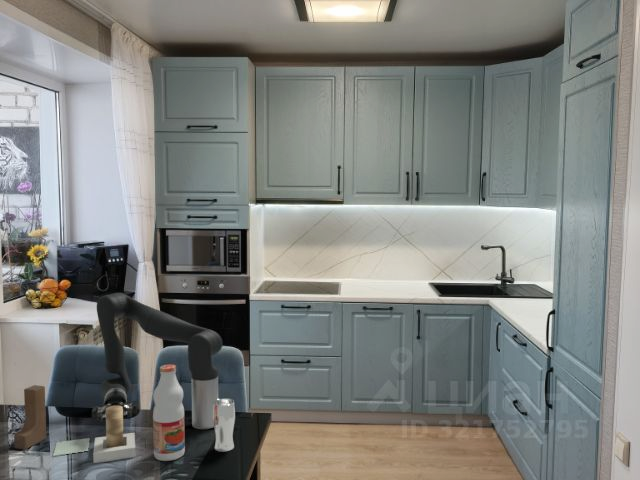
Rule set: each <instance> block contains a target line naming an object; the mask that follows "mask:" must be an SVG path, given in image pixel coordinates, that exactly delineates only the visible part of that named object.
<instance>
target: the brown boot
mask: <svg viewBox="0 0 640 480" xmlns="http://www.w3.org/2000/svg"><path fill="white" fill-rule="evenodd" d="M23 394H24V395H23V396H24V397H23V399H24V423H23V426H22V428H21V429H20V431H19V430H18V432H16V433H15V434H14V435H13V440H14V441H13V443H14V444H13V445H14V449H18V450H22V451H23V450H24V451H25V450H28V449H29V448H31V447H33V446H35V445H37V444H39V443H42V442H43V441H44V440H46V439H47V419H46V418H47V415H46V414H47V413H46V386H44V385H35V384H34V385H31V386H29V387H25V388H24V389H23Z"/></svg>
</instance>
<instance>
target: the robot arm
mask: <svg viewBox="0 0 640 480" xmlns="http://www.w3.org/2000/svg"><path fill="white" fill-rule="evenodd" d="M96 313H97V314H96V315H97V319H98V324H99V328H100V333H101V337H102V341H103V346H104V347H103V348H104V363H105V365H104V366H105V371H106V372H107V373H109V374H116V375H118V376H119V377H118V376H117V377H111V378H110V377H109V378H106V379H104V380H103V381H102V383H101V393H102V396H103V397H104V399H103V405H102V406H101V407H99V406H98V405H93V407H92V410H91V420H97V422H99V423H103V418H105V419H106V408H108V407H110V406H122V407H123V416H126V415H127V416H126V417H127V420H130V418H132V416H133V414H134V415H137V414H138V404H137V401H136V400H134V401H132V402H131V403H128V400H127V399H128V397H127V395H128V394H129V393H130V392H131V389H132V385H131V381H130V378H129V375H128V372H127V369H126V356H125V348H124V345H123V343H122V341H121V339H120V338H119V335H118V334H117V332H116V327H115V319H116V318H120V317H125V318H128V319H131V320H133V321H135V322H137V324H138V325H139V327H140V328H141V330H142V331H144V332H145V333H146V334H148V335H151V336H153V337H155V338H158V339H160V340H165V341H171V342H181V343H186V344H188V345H187V354H188V355H187V356H188V368H189V372H190V375H191V425H192V428H194V429H198V430H208V429H213V428H214V422H213V405H214V401H216V400H218V399H220V397H219V369H218V367H217V366H213V362H212V357H213V356H216V355H217V354H218V353H219V352H220V351H222V348H223V339H222V337H221V336H220V334H219V333H218V332H216V331H214V330H212V329H209V328H205V327H201V326H199V325H195V324H192V323H190V322H187V321H185V320H182V319H180V318H178V317H176V316H173V315H172V314H169V313H166V312H164V311H162V310H159V309H156V308H154V307H151V306H149V305H146V304H144V303H142V302H139V301H138V300H136V299H134V298H133V297H131V296H129V295H127V294H125V293H122V292H114V293H110V294H105V295H101V296H100V297H99V299H98V300H97V301H96Z"/></svg>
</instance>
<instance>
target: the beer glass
mask: <svg viewBox="0 0 640 480" xmlns="http://www.w3.org/2000/svg"><path fill="white" fill-rule="evenodd" d="M235 421H236V409H235V400H234V399H232V398H226V397H225V398H219V399H218V400H216V401H214V405H213V422H214V427H213V428H214V432H215V444H214V450H215V451H217V452H219V453H220V452H223V453H225V452H229V451H231V450H234V448H235V444H234V439H233V435H234V429H235V428H234V427H235Z"/></svg>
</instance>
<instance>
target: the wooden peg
mask: <svg viewBox="0 0 640 480" xmlns="http://www.w3.org/2000/svg"><path fill="white" fill-rule="evenodd" d="M123 434H124V415H123V407H122V406H110V407H108V408H106V418H105V436H106V448H112V447H119V446H123Z"/></svg>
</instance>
